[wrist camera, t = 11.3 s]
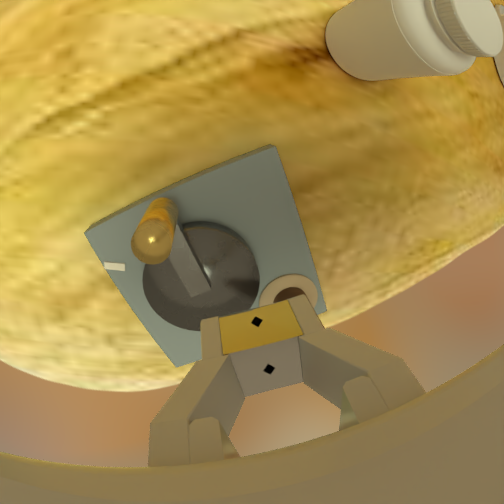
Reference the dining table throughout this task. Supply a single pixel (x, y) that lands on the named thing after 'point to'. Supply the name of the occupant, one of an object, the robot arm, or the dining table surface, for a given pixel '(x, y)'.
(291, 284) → the board
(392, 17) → the pill bottle
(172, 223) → the dial
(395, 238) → the dining table surface
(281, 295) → the brown bottle
